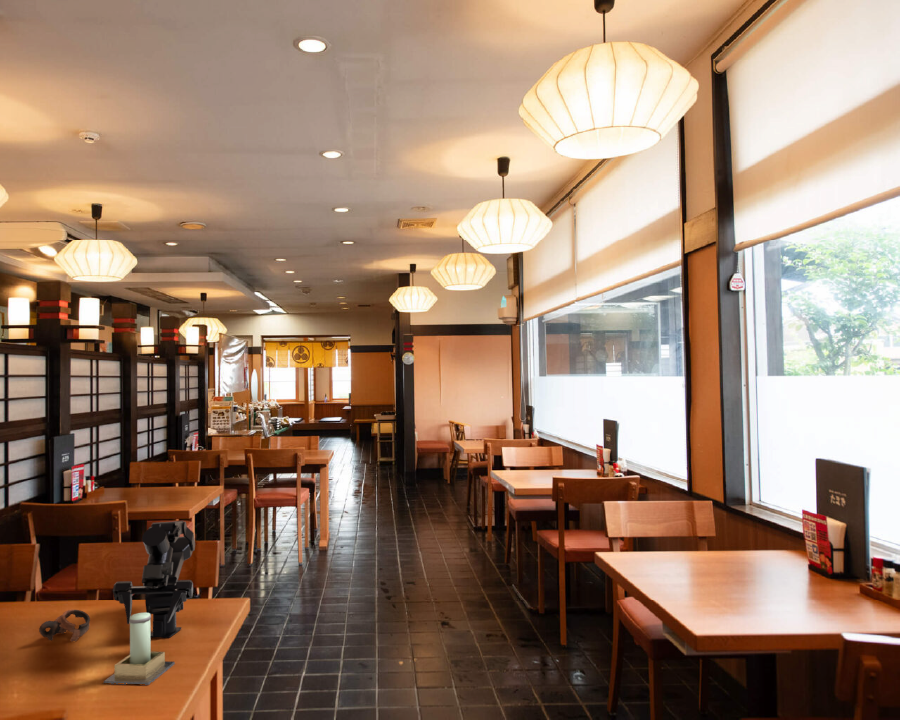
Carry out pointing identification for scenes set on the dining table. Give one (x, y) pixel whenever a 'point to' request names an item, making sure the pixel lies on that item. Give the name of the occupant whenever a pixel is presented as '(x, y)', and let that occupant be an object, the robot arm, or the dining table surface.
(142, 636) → the pale green cylinder
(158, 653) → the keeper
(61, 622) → the dark double loop ring
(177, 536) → the robot arm
